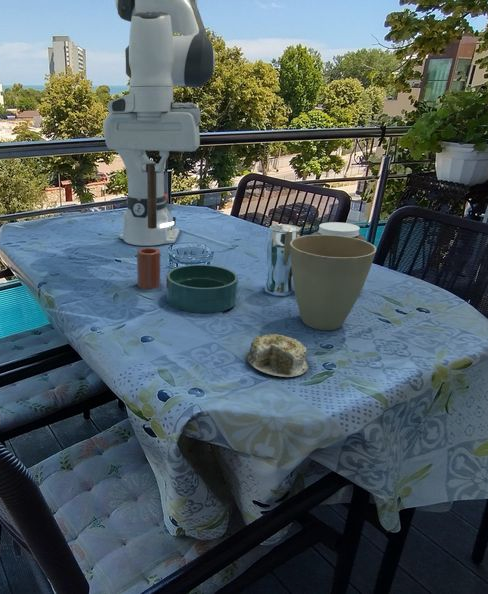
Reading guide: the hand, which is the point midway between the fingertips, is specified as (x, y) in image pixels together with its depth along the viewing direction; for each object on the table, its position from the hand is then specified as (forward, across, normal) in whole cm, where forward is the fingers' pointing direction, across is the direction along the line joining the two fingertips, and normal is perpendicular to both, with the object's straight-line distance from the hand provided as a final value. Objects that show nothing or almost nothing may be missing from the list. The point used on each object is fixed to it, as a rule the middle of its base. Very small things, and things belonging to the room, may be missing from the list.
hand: (151, 172), depth 100 cm
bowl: (+27, -13, +4) cm, 30 cm away
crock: (+27, +1, 0) cm, 27 cm away
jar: (+27, -39, -13) cm, 49 cm away
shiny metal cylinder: (+27, -28, -8) cm, 40 cm away
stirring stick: (+12, 0, 0) cm, 12 cm away
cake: (+27, -32, +25) cm, 48 cm away
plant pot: (+27, -38, +6) cm, 47 cm away
